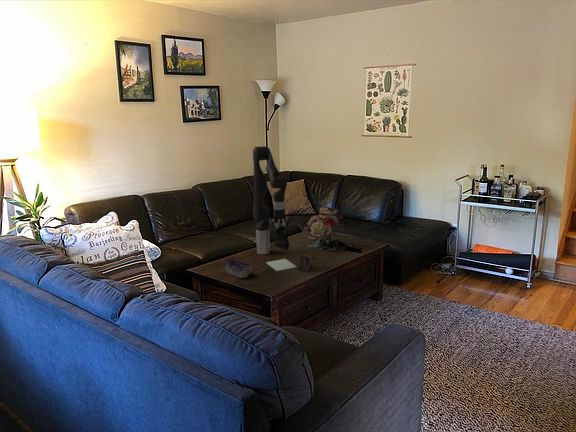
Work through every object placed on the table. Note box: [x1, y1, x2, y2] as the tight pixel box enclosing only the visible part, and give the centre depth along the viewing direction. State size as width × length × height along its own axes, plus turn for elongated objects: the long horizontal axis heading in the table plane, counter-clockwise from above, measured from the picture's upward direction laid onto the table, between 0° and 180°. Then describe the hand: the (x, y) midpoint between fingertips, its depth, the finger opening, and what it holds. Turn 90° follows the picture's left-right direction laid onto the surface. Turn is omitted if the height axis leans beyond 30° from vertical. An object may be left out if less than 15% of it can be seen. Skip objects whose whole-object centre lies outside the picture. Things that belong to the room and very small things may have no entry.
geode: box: [225, 257, 253, 279], centre depth 288 cm, size 20×12×10 cm, turn 53°
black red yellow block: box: [271, 226, 291, 251], centre depth 299 cm, size 4×13×15 cm, turn 41°
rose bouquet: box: [306, 205, 346, 252], centre depth 337 cm, size 26×29×30 cm
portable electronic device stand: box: [296, 254, 315, 273], centre depth 294 cm, size 9×8×8 cm
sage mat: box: [266, 258, 298, 272], centre depth 303 cm, size 18×14×1 cm
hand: (280, 233), depth 298 cm, fingers closed on black red yellow block, 4 cm apart
